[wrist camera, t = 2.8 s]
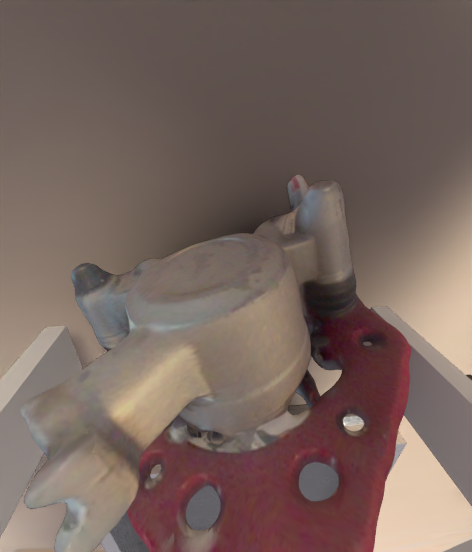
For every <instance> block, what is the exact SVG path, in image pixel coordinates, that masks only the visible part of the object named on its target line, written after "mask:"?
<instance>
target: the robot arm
mask: <svg viewBox="0 0 472 552" xmlns="http://www.w3.org/2000/svg"><path fill="white" fill-rule="evenodd" d="M370 310H371V311H372V312H374V313H375V314H377V315H378V316H379V317H381V318H382V319H383V320H385V321H386V322H388V323H389V324H391V325H392V326H394V327H395V328H396V329H397V330H399V331H400V332H401V333H402V334H403V336H404V337H405V338H406V340H407V341H408V343H409V345H410V346H411V356H410V359H409V373H410V384H409V394H408V402H407V405H406V409H405V412H404V416H405V417H406V418H407V420H408V421H409V423H410V424H411V425H412V427H413V428H414V429H415V431H416V432H417V433H418V435H419V436H420V437H421V439H422V440H423V441H424V443H425V444H426V445H427V447H428V448H429V449H430V451H431V452H432V453H433V455H434V456H435V458H436V459H437V460H438V462H439V463H440V464H441V466H442V467H443V468H444V470H445V471H446V472H447V474H448V475H449V476H450V478H451V479H452V480H453V482H454V483H455V484H456V486H457V487H458V488H459V490H460V491H461V493H462V494H463V495H464V497H465V498H466V499H467V501H468V502H469V503H470V505H471V506H472V376H471V375H465V374H464V373H463V372H461V371H460V370H459V369H458V368H457V367H456V366H455V365H453V364H452V363H451V362H450V361H449V360H448V359H447V358H446V357H444V356H443V355H442V354H441V353H440V352H439V351H438V350H436V349H435V348H434V347H433V346H432V345H431V344H430V343H428V342H427V341H426V340H425V339H424V338H423V337H422V336H420V335H419V334H418V333H417V332H416V331H415V330H414V329H412V328H411V327H410V326H409V325H408V324H407V323H406V322H404V321H403V320H402V319H401V318H400V317H399V316H398V315H396V314H395V313H394V312H393V311H392V310H391V309H390V308H389V307H387V306H379V307H371V309H370ZM363 344H364V345H365V346H370V345H372V343H370V342H363ZM82 370H83V368H82V365H81V363H80V360H79V358H78V355H77V352H76V350H75V347H74V345H73V342H72V339H71V337H70V334H69V331H68V329H67V326H52V327H45V328H44V329H43V331H42V332H41V333H40V334H39V335H38V336H37V338H36V339H35V340H34V341H33V342H32V343H31V344H30V346H29V347H28V348H27V349H26V350H25V351H24V353H23V354H22V355H21V356H20V357H19V358H18V359H17V361H16V362H15V363H14V364H13V365H12V366H11V368H10V369H9V370H8V371H7V372H6V373H5V375H4V376H3V377H2V378H1V379H0V537H1V535H2V533H3V531H4V530H5V528H6V526H7V524H8V522H9V520H10V518H11V516H12V514H13V512H14V510H15V508H16V506H17V504H18V502H19V501H20V499H21V497H22V495H23V493H24V491H25V489H26V487H27V485H28V483H29V481H30V479H31V477H32V475H33V473H34V471H35V470H36V468H37V466H38V464H39V462H40V460H41V458H42V456H43V454H44V452H43V451H42V450H41V448H40V447H39V446H38V444H37V443H36V442H35V440H34V439H33V438H32V435H31V433H30V431H29V429H28V426H27V422H26V421H25V420H24V418H23V417H22V415H21V408H22V406H23V404H24V403H25V402H26V401H28V400H29V399H30V398H32V397H34V396H36V395H38V394H40V393H42V392H44V391H46V390H48V389H51V388H53V387H55V386H56V385H58V384H60V383H62V382H64V381H66V380H68V379H70V378H71V377H73V376H74V375H76V374H77V373H79V372H80V371H82Z"/></svg>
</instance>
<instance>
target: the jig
mask: <svg viewBox="0 0 472 552" xmlns="http://www.w3.org/2000/svg"><path fill="white" fill-rule="evenodd" d="M307 409H309V407H308V405H307V404H306V405H296V406H288V409H287V410H288V412H289V413H290V414H291V415H298V414H300V413H302V412H304V411H306V410H307ZM173 421H174V420H173ZM173 421H172V422H171V423H170V424H169V425H168V426H167V427H169V426H171V425H172V423H173ZM343 424H344V427H345V428H346V429H347V430H350V431H358V430H360V429H362V427H363V426H364V422H363V420H362V419H361V418H360V417H358V416H357V415H354V414H347V415H346V416H345V417H344V419H343ZM187 431H188V433H189V434H190V435H191V436H193V437H197V430H195V429H193V428H192V427H190V426H189V425H188V424H187ZM211 442H212V443H213V444H217V445H220V444H221V443H222V442H223V436H222V435H221V434H220V433H218V432H215V431H213V435H212V439H211ZM406 444H407V443H406V441H405V440H404V438H403V437H402V435H401V434H400V432H399V431H398V435H397V440H396V450H395V457H394V461H393V464H392V467H393V466H394V464H395V462H396V461H397V459H398V457H399V456H400V454H401V452H402V450H403V449H404V447H405V445H406ZM392 467H391V469H392ZM391 469H390V471H391ZM160 471H161V465H160V464H158V465H156V466H155V467H153V469H152V471H151V474H150V477H151V479H152V478H155V477H156V476H157V475H158V474H159V473H160ZM390 471H389V473H390ZM338 485H339V478H338V475H337V473H336V472H335V471H334V470H333V469H332V468H331V467H330V466H328V465H326V464H323V463H317V462H314V463H310V464H307V465H306V466H305V467H304V468H303V470H302V471H301V474H300V477H299V489H300V491H301V493H302V494H303V496H304V497H305V498H307V499H308V500H310V501H322V500H325V499H328V498H330V497H331V496H332V494H333V493H334V492H335V490H336V489H337V488H338ZM220 506H221V502H220V499H219V496H218V494H217V492H216V491H215V490H214V489H213V487H210V486H206V487H204V488H202V489H201V490H199V491H198V492H197V493H196V494H195V495H194V496H193V497H192V498H191V500H190V501H189V503H188V506H187V509H186V520H187V523H188V525H189V526H190V527H191V528H192V529H194V530H199V531H201V530H206V529H209V528H210V527H211V526H212V525H213V524H214V523H215V521H216V519H217V518H218V515H219V513H220ZM101 545H102V547H103V548H104V550H105V551H106V552H150V551H149V550H148V548H147V546H146V545H145V543H144V542H143V541H142V540H141V538H140V536H139V535H138V534H137V532H136V531H135V530H134V528H133V526H132V524H131V522H130V520H129V517H128V514H127V512H126V513H125V514H124V516H123V517H122V518H121V520H120V521H119V522H118V524H117V525H116V526H115V527H114V528H113V529H112V530H111V531H110V532H109V533H108V534H107V535H106V536H105V537H104V539H103V540H102V542H101Z"/></svg>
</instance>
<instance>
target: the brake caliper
mask: <svg viewBox="0 0 472 552" xmlns="http://www.w3.org/2000/svg"><path fill="white" fill-rule="evenodd" d="M287 190H288V194H289V200H290V204H291V211H292V212H291V213H289V214H286V215H280V216H275V217H273V218H270V219H268V220H267V221H265V222H263V223H262V224H261V225H260V226H259V227H258V228H257V229H256V230H255V232H254V233H253V234H248V233H238V234H231V235H226V236H222V237H218V238H215V239H211V240H207V241H203V242H200V243H197V244H194V245H191V246H189V247H187V248H184V249H182V250H180V251H177V252H175V253H173V254H171V255H169V256H167V257H165V258H163V259H158V258H150V259H147V260H145V261H143V262H141V263H140V264H139V265H138V266H137V267H135V268H134V269H133V270H132V271H130V272H128V273H126V274H123V275H113V274H110V273H107V272H105V271H103V270H102V269H100V268H99V267H98V266H96V265H94V264H89V263H85V264H81V265H79V266H78V267H76V268H75V269H74V270H73V271H72V275H71V278H72V281H73V284H74V287H75V296H76V301H77V303H78V305H79V307H80V308H81V310H82V312H83V313H84V315H85V316H86V318H87V319H88V321H89V322H90V324H91V325H92V327H93V329H94V331H95V334H96V337H97V339H98V341H99V343H100V344H101V345H102V346H103V347H104V348H105V349H106V350H107V351H108V352H106V353H105V354H103V355H102V356H100V357H99V358H97V359H96V360H95V361H93V362H92V363H90V364H89V365H88V366H86V367H85V368H84V369H83V370H82V371H80V372H79V373H77V374H76V375H74V376H73V377H71V378H70V379H68V380H66V381H64V382H62V383H60V384H58V385H56V386H55V387H53V388H51V389H48V390H46V391H44V392H42V393H40V394H38V395H36V396H34V397H32V398H30V399H29V400H28V401H26V402H25V403H24V404H23V406H22V408H21V415H22V417H23V418H24V420H25V421H26V422H27V426H28V429H29V431H30V433H31V435H32V438H33V439H34V440H35V442H36V443H37V444H38V446H39V447H40V448H41V450H42V451H43V452H44V453H45V454H46V455H47V457H48V461H47V462H46V463H45V464H44V466H43V467H42V468H41V469H40V470H39V471H38V472H37V474H36V475H35V477H34V478H33V480H32V482H31V484H30V486H29V487H28V489H27V492H26V494H25V499H24V503H25V505H26V506H27V508H30V509H35V508H40V507H45V506H48V505H52V504H55V503H60V502H65V503H66V504H67V511H66V516H65V518H64V521H63V523H62V525H61V528H60V530H59V532H58V534H57V537H56V540H55V547H54V550H55V552H92V551H93V550H94V549H95V548H96V547H97V546H98V545H99V544H100V543H101V542H102V540H103V539H104V537H105V536H106V535H107V534H108V533H109V532H110V531H111V530H112V529H113V528H114V527H115V526H116V525H117V524H118V522H119V521H120V520H121V518H122V517H123V516H124V514H125V513H126V512H127V514H128V517H129V520H130V522H131V524H132V526H133V528H134V530H135V531H136V532H137V534H138V535H139V536H140V538H141V540H142V541H143V542H144V543H145V545H146V546H147V548H148V550H149V551H150V552H373V549H374V543H375V535H376V526H377V520H378V516H379V512H380V507H381V504H382V500H383V495H384V488H385V481H386V479H387V476H388V474H389V471H390V469H391V467H392V464H393V461H394V457H395V450H396V440H397V435H398V428H399V425H400V422H401V420H402V418H403V415H404V412H405V409H406V405H407V402H408V394H409V384H410V373H409V359H410V356H411V346H410V345H409V343H408V341H407V340H406V338H405V337H404V336H403V334H402V333H401V332H400V331H399V330H397V329H396V328H395V327H394V326H392V325H391V324H389V323H388V322H386V321H385V320H383V319H382V318H381V317H379V316H378V315H377V314H375V313H374V312H372V311H371V310H369V309H368V308H367V307H365V306H364V304H363V303H362V302H361V300H360V299H359V298H358V296H357V294H356V280H355V275H354V270H353V265H352V261H351V256H350V250H349V235H348V230H347V225H346V218H345V210H344V197H343V192H342V189H341V187H340V185H339V183H338V182H336V181H331V180H326V181H318V182H315V183H314V184H313V185H311V186H310V187H309V186H308V184H307V183H306V180H305V179H304V178H303V177H302V176H301V175H296V176H295V177H293V178H292V179H291V180H290V181H289V183H288V186H287ZM363 342H370V343H372V345H370V346H365V345H364V344H363ZM310 356H312V357H313V359H314V361H315V362H316V363H317V364H318V365H319V366H320V367H321V368H324V369H326V370H343V371H342V374H341V377H340V378H339V380H338V381H337V382H336V383H335V385H334V386H333V387H332V388H331V389H329V390H328V391H327V392H325V393H324V394H323V395H322V396H320V395H319V393H318V390H317V387H316V384H315V381H314V379H313V377H312V376H311V375H310V373H309V372H308V370H307V368H308V364H309V360H310ZM295 392H296V393H298V394H299V395H301V396H302V397H303V398H304V400H305V401H306V403H307V405H308V407H309V409H307V410H306V411H304V412H302V413H300V414H298V415H291V414H290V413H289V412H288V410H287V409H288V406H289V403H290V401H291V399H292V397H293V395H294V393H295ZM347 414H354V415H357V416H358V417H360V418H361V419H362V420H363V422H364V426H363V427H362V429H360V430H358V431H350V430H347V429H346V428H345V427H344V424H343V419H344V417H345V416H346V415H347ZM173 420H174V421H173ZM172 421H173V423H172V425H171V426H169V427H167V426H168V425H169V424H170V423H171V422H172ZM187 424H188V425H189V426H190V427H192V428H193V429H195V430H197V437H193V436H191V435H190V434H189V433H188V431H187ZM213 431H215V432H218V433H220V434H221V435H222V436H223V442H222V443H221V444H220V445H217V444H213V443H212V442H211V439H212V435H213ZM314 462H317V463H323V464H326V465H328V466H330V467H331V468H332V469H333V470H334V471H335V472H336V473H337V475H338V478H339V485H338V488H337V489H336V490H335V492H334V493H333V494H332V496H331V497H330V498H328V499H325V500H322V501H310V500H308V499H307V498H305V497H304V496H303V494H302V493H301V491H300V489H299V477H300V474H301V471H302V470H303V468H304V467H305V466H306V465H307V464H310V463H314ZM158 464H160V465H161V471H160V473H159V474H158V475H157V476H156V477H155V478H152V479H151V477H150V474H151V471H152V469H153V467H155V466H156V465H158ZM206 486H210V487H213V489H214V490H215V491H216V492H217V494H218V496H219V499H220V502H221V506H220V513H219V515H218V518H217V519H216V521H215V523H214V524H213V525H212V526H211V527H210V528H209V529H206V530H201V531H199V530H194V529H192V528H191V527H190V526H189V525H188V523H187V520H186V509H187V506H188V503H189V501H190V500H191V498H192V497H193V496H194V495H195V494H196V493H197V492H198V491H199V490H201V489H202V488H204V487H206Z"/></svg>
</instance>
